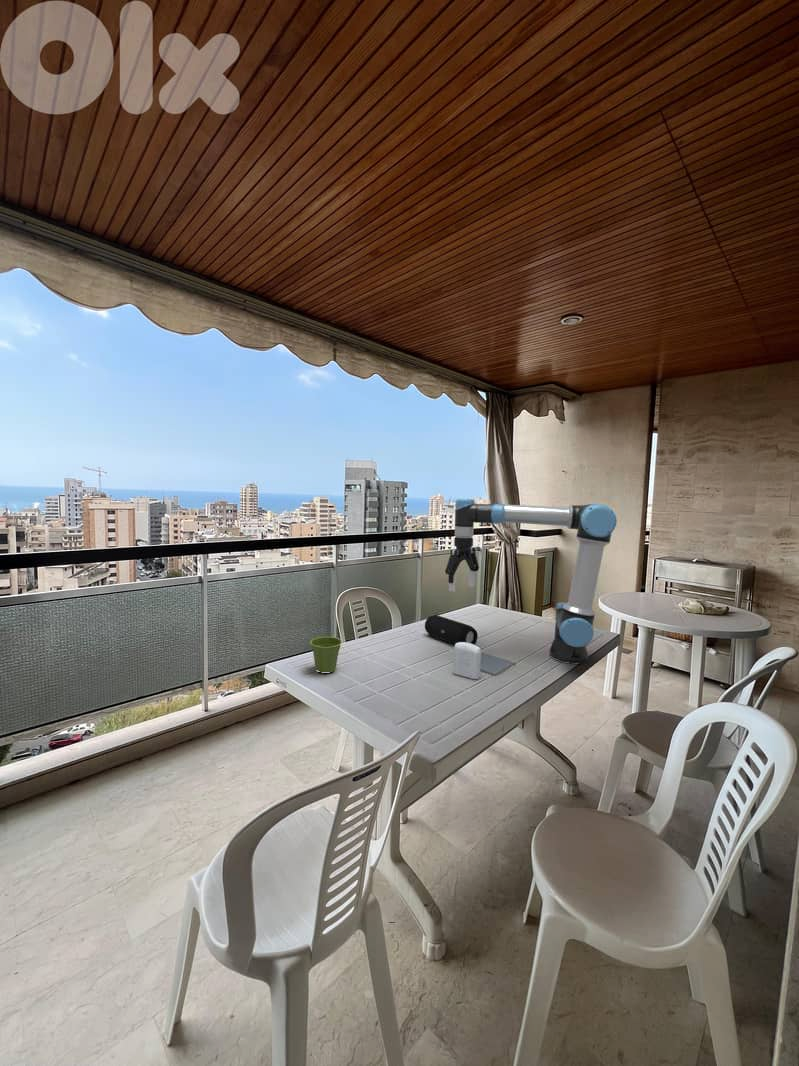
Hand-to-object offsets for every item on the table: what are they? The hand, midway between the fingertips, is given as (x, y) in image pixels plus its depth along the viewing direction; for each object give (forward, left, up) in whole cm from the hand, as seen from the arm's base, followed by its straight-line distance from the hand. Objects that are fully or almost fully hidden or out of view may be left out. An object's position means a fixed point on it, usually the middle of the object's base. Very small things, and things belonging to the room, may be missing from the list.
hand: (461, 588), depth 178 cm
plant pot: (+27, +48, -29) cm, 62 cm away
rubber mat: (-13, -1, -29) cm, 31 cm away
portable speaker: (+14, -13, -29) cm, 35 cm away
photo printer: (-13, +14, -29) cm, 34 cm away
